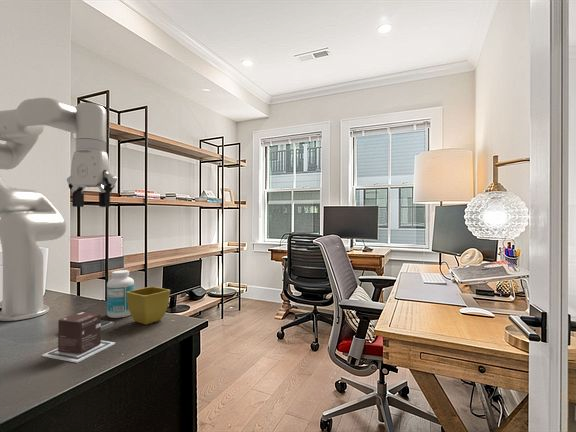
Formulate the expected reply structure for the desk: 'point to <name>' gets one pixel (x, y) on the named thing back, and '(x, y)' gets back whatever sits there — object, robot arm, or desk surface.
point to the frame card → (78, 357)
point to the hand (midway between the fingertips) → (91, 206)
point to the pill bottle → (119, 294)
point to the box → (79, 333)
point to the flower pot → (148, 304)
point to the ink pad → (106, 325)
